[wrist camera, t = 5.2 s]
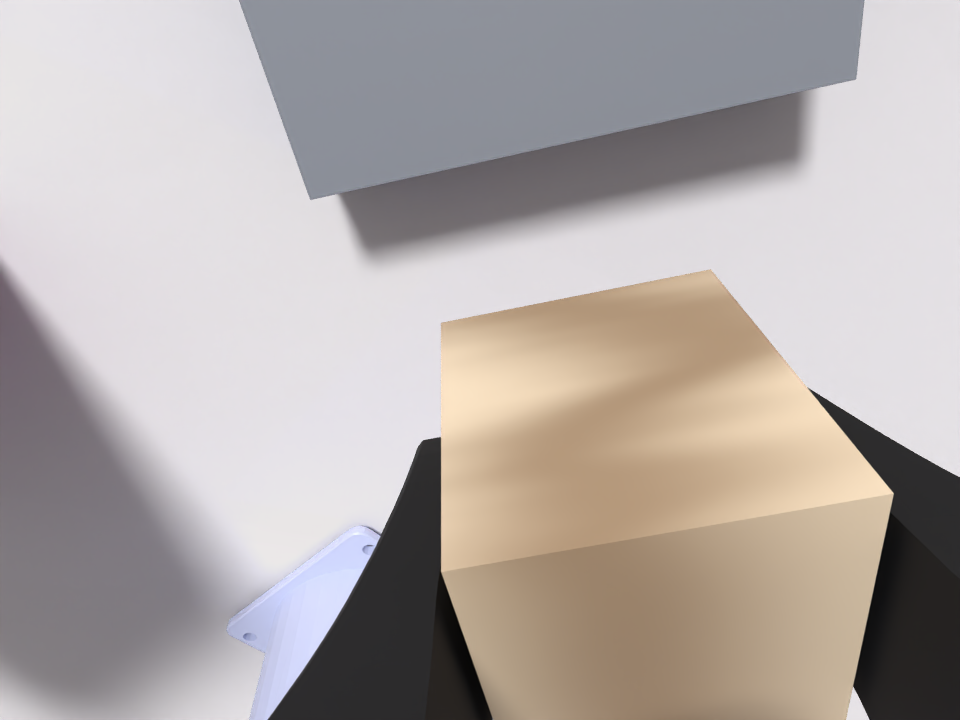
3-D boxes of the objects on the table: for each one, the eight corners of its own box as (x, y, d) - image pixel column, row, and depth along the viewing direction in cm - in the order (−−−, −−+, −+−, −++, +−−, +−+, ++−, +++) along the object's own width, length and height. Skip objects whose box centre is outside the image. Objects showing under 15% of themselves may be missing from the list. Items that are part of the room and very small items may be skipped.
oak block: (710, 269, 10) (893, 492, 6) (711, 469, 13) (843, 730, 9) (440, 323, 11) (441, 571, 6) (490, 509, 13) (514, 779, 9)
